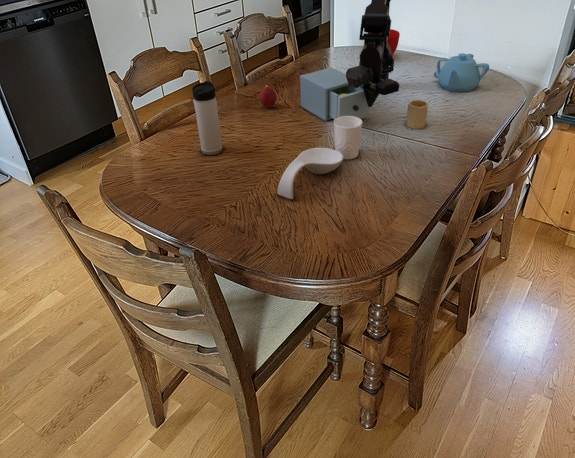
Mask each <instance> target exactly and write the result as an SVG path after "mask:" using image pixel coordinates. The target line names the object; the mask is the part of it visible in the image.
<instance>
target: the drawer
mask: <svg viewBox="0 0 575 458" xmlns="http://www.w3.org/2000/svg"><path fill="white" fill-rule="evenodd" d="M343 93H345V94H347V95H343V96H340V97H339V95H340V94H343ZM369 110H370V107H368V105H367V101H366V97H365V94H364V91H363V89H362V88H361V87H359V88H354V87H353V86H351V85H348V86H344V87H340V88H337V89H333V90H330V91H328V116H329V117H331V118H333V119H332V120H333V121H334V120H335V119H336V118H338V117H342V116H354V117H358V118H360V119H364V118H366V117H369V112H370V111H369Z"/></svg>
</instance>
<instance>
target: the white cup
mask: <svg viewBox="0 0 575 458" xmlns="http://www.w3.org/2000/svg"><path fill="white" fill-rule="evenodd" d="M362 130H363V120H362V118H358V117H354V116H342V117H338V118H336V119H335V120H334V119H333V140H334V141H333V142H334V143H333V144H334V150H336V151H338V152H340V153H341V154H342V155H343V160H352V159H356V158H357V157H358V156H359V154H360V153H359V151H360V146H361V140H362V132H363V131H362Z"/></svg>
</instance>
